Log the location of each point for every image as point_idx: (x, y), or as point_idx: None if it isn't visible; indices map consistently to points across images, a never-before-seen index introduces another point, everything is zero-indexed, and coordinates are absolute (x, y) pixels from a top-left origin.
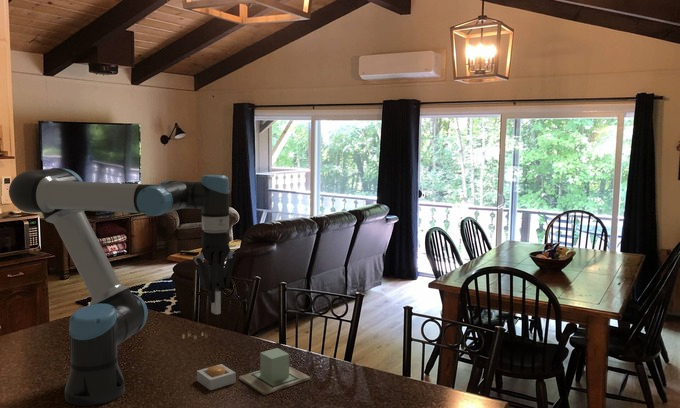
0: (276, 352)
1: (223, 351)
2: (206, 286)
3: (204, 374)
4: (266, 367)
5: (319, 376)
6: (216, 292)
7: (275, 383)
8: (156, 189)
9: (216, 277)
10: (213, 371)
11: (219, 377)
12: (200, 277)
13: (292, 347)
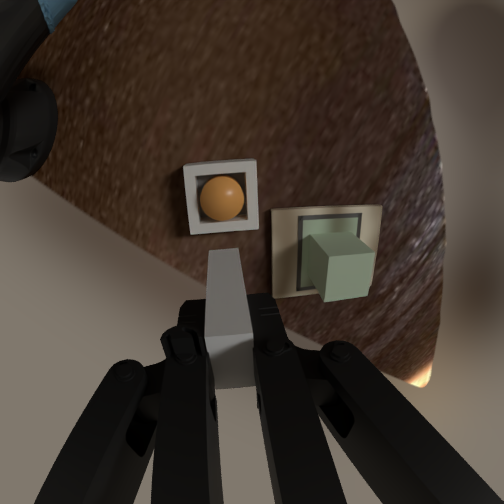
0: (355, 275)
1: (321, 45)
2: (134, 431)
3: (190, 197)
4: (316, 269)
5: (387, 277)
6: (220, 386)
7: (310, 280)
8: None
9: (269, 439)
10: (210, 209)
11: (214, 232)
12: (72, 462)
13: (437, 138)
